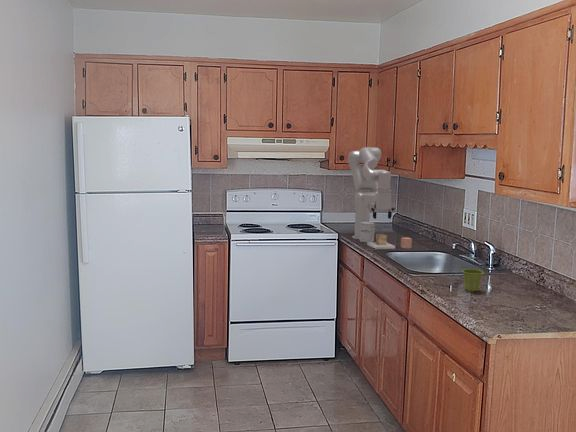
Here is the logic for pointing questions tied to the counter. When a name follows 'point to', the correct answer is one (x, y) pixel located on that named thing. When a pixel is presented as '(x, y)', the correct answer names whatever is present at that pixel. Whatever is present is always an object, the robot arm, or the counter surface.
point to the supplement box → (367, 232)
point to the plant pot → (472, 279)
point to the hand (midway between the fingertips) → (382, 218)
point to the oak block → (381, 239)
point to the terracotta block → (406, 242)
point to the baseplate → (381, 246)
